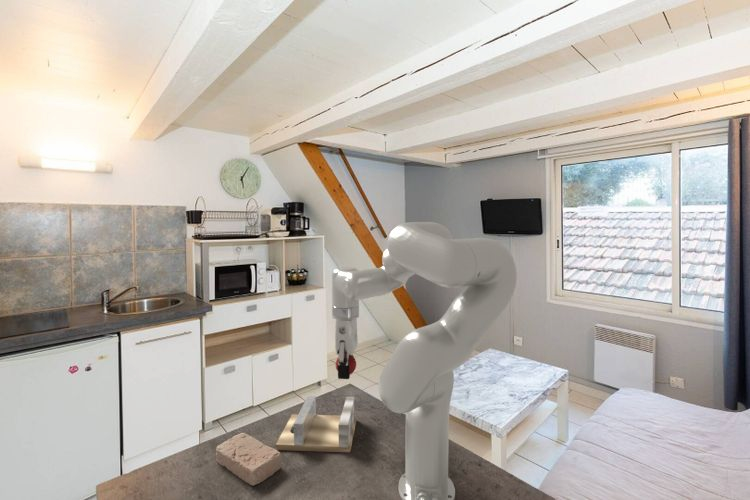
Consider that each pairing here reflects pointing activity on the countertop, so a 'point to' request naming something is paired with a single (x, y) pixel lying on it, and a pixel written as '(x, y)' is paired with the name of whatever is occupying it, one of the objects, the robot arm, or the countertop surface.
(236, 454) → the brick
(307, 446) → the vise base
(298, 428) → the vise jaw
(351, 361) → the onion
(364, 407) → the countertop surface
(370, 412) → the countertop surface
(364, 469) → the countertop surface
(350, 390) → the countertop surface
